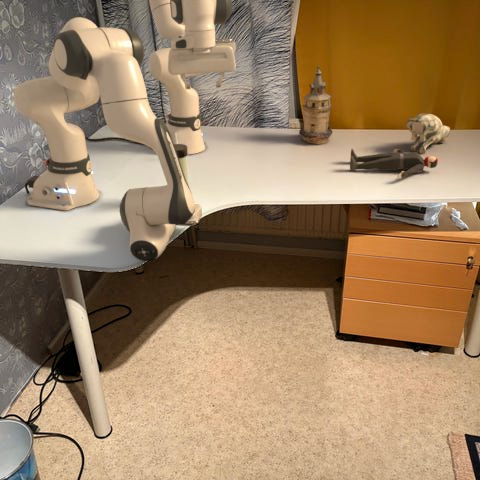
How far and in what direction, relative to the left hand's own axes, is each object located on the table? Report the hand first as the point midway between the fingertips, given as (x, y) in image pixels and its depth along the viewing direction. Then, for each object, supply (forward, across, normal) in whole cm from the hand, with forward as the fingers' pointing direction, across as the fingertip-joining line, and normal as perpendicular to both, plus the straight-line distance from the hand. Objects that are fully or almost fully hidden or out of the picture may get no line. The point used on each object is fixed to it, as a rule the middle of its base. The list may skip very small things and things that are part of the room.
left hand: (171, 200), depth 158 cm
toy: (+45, -69, +5) cm, 83 cm away
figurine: (+70, -85, +5) cm, 110 cm away
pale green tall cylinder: (+11, 0, +6) cm, 12 cm away
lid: (+11, 0, -12) cm, 16 cm away
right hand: (+22, -6, -28) cm, 36 cm away
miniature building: (+75, -42, +6) cm, 86 cm away
